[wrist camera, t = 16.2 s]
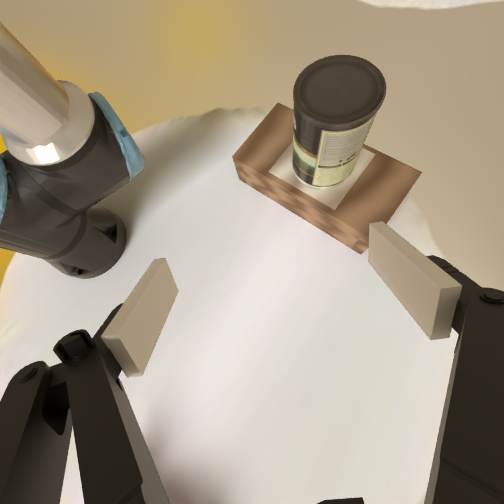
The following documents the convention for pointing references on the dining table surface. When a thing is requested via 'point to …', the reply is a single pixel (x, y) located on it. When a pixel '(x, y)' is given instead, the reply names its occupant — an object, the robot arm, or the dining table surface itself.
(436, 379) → the dining table surface
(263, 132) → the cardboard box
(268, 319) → the dining table surface
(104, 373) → the robot arm
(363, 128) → the coffee can
